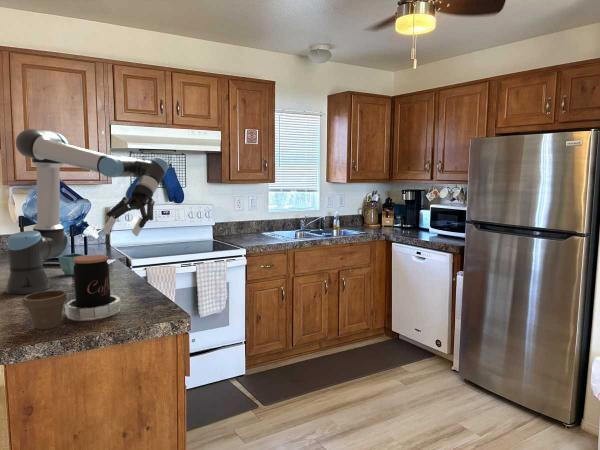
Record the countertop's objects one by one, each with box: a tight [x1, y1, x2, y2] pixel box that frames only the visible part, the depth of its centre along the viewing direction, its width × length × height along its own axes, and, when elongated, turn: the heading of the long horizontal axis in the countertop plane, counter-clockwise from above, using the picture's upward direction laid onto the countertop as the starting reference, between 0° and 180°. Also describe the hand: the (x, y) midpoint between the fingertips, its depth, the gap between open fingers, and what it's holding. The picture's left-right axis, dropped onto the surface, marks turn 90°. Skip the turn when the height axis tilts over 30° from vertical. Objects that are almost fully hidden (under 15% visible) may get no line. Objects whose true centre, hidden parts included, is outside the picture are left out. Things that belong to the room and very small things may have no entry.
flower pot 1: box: [22, 289, 68, 330], centre depth 141 cm, size 12×11×10 cm
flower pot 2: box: [58, 252, 87, 276], centre depth 217 cm, size 9×9×9 cm
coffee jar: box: [73, 254, 111, 308], centre depth 154 cm, size 11×11×18 cm
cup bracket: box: [64, 294, 122, 322], centre depth 155 cm, size 16×16×4 cm
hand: (119, 233), depth 170 cm, fingers open, 13 cm apart
